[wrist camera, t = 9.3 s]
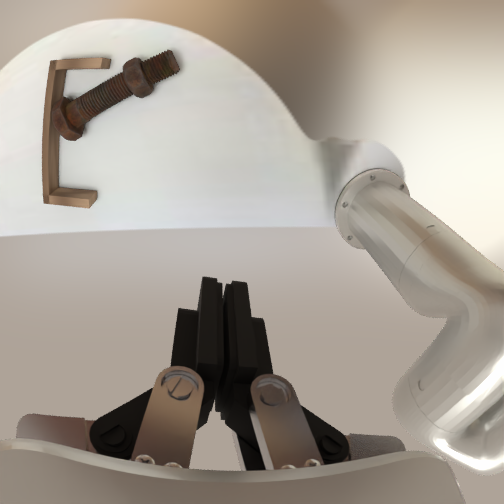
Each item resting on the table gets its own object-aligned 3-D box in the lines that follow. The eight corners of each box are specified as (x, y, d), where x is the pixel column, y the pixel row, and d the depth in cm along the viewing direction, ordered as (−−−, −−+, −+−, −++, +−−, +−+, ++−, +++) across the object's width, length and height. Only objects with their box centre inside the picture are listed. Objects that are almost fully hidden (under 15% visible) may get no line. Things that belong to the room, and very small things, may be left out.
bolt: (180, 68, 30) (77, 123, 31) (165, 35, 25) (56, 97, 26) (186, 87, 27) (70, 149, 28) (169, 50, 23) (46, 121, 23)
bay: (110, 59, 26) (102, 57, 24) (97, 199, 35) (89, 208, 33) (61, 61, 24) (50, 60, 22) (53, 194, 34) (43, 203, 31)
